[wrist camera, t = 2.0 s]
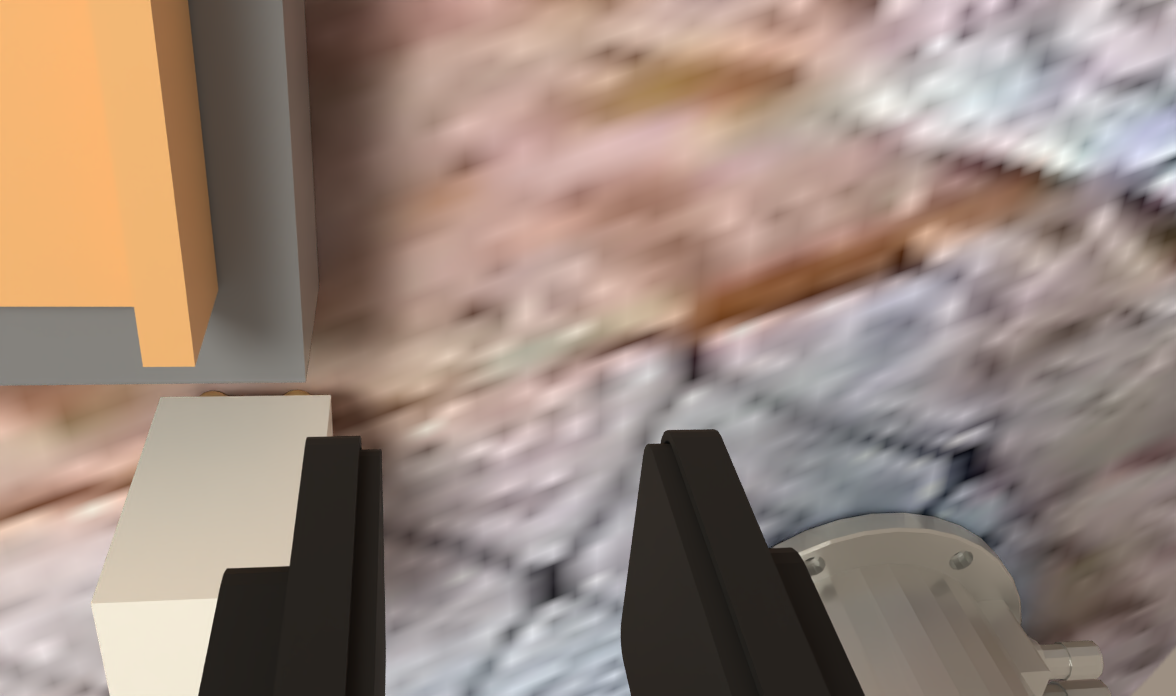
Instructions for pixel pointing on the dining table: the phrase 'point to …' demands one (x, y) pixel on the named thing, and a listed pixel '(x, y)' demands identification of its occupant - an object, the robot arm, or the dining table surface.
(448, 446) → the dining table surface
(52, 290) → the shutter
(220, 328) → the socket
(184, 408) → the block
